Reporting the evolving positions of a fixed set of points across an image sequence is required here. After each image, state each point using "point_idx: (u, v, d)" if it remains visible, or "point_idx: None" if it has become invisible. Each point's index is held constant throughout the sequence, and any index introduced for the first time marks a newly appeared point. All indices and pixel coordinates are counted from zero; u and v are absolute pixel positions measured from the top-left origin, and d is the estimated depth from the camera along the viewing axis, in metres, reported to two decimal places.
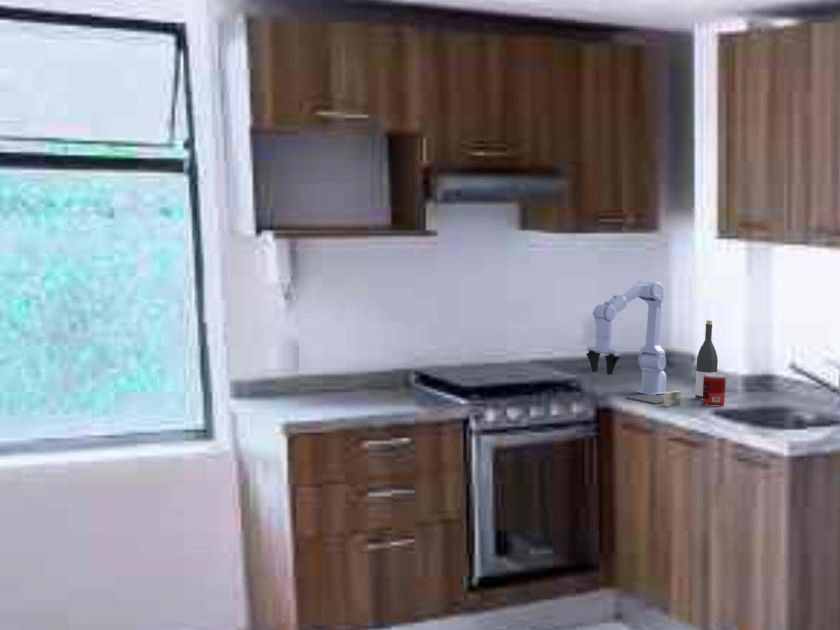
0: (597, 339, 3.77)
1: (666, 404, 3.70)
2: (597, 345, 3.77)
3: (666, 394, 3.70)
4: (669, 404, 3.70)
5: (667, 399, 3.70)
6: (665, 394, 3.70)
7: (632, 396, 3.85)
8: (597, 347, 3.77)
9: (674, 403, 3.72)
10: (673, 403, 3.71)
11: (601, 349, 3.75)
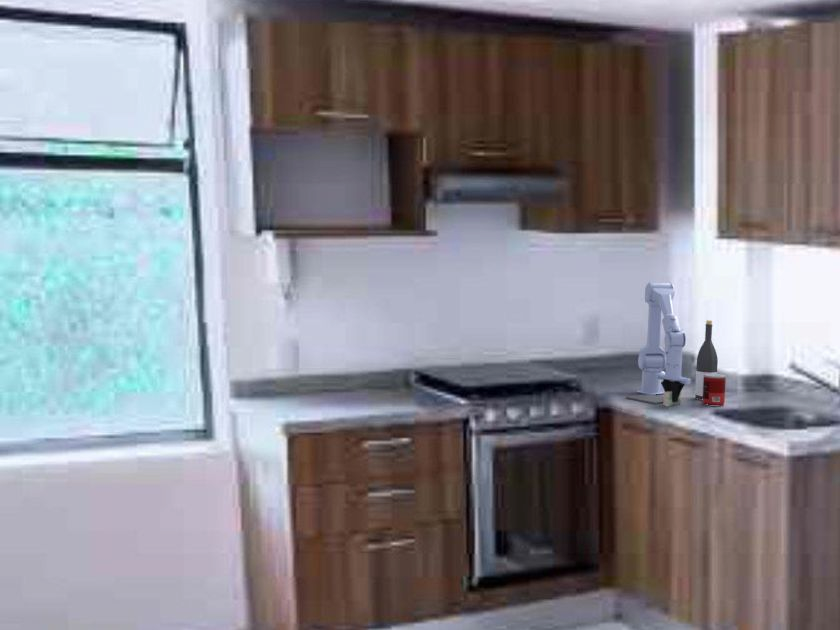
0: (667, 367, 3.70)
1: (666, 404, 3.70)
2: (667, 373, 3.70)
3: (666, 394, 3.70)
4: (669, 404, 3.70)
5: (667, 398, 3.70)
6: (665, 394, 3.70)
7: (632, 396, 3.85)
8: (667, 375, 3.70)
9: (674, 403, 3.72)
10: (673, 403, 3.71)
11: (672, 377, 3.69)
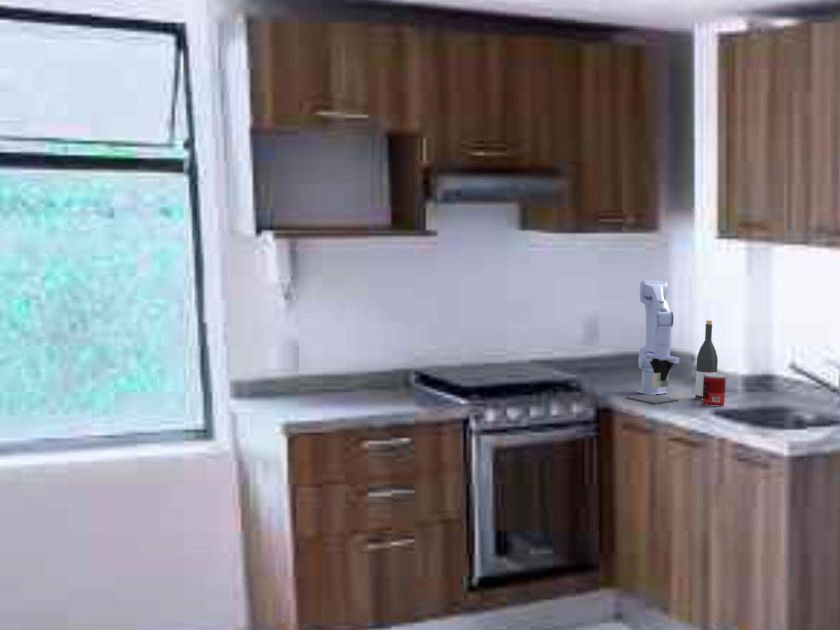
0: (656, 346, 3.74)
1: (654, 385, 3.75)
2: (656, 352, 3.74)
3: (654, 376, 3.74)
4: (657, 385, 3.75)
5: (655, 380, 3.74)
6: (653, 375, 3.75)
7: (632, 396, 3.85)
8: (656, 354, 3.74)
9: (662, 384, 3.76)
10: (661, 384, 3.76)
11: (660, 356, 3.73)
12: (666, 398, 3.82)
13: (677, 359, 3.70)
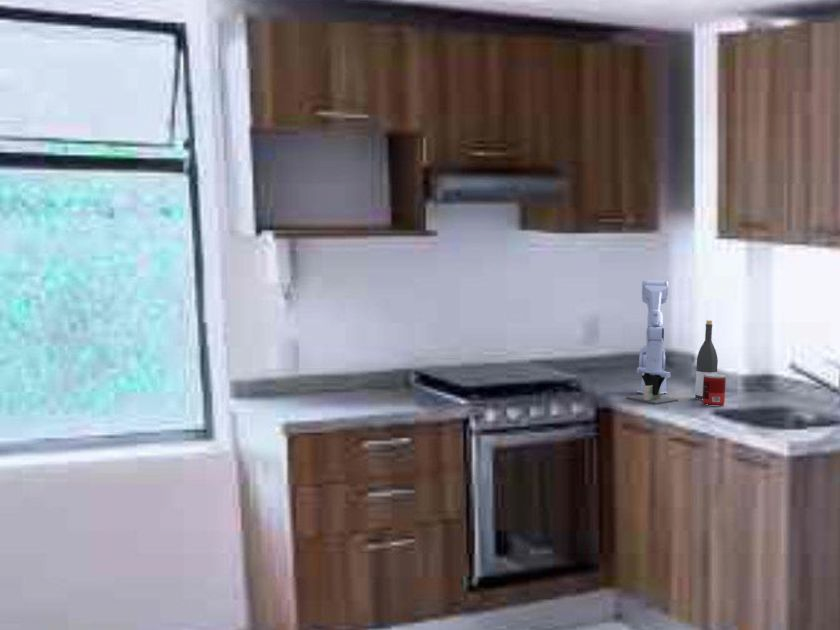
0: (648, 361, 3.78)
1: (646, 398, 3.78)
2: (648, 367, 3.78)
3: (646, 388, 3.78)
4: (649, 398, 3.78)
5: (647, 392, 3.78)
6: (645, 388, 3.78)
7: (632, 396, 3.85)
8: (648, 369, 3.78)
9: (654, 397, 3.80)
10: (653, 397, 3.80)
11: (652, 371, 3.77)
12: (666, 398, 3.82)
13: (668, 374, 3.74)
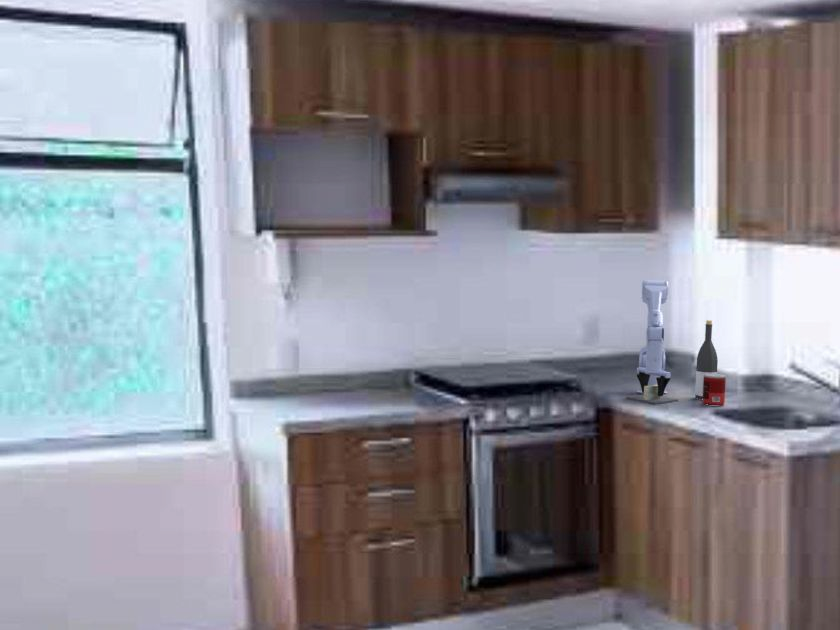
0: (648, 361, 3.78)
1: (646, 398, 3.78)
2: (648, 367, 3.78)
3: (646, 388, 3.78)
4: (649, 398, 3.78)
5: (647, 392, 3.78)
6: (645, 388, 3.78)
7: (632, 396, 3.85)
8: (648, 369, 3.78)
9: (654, 397, 3.80)
10: (653, 397, 3.80)
11: (652, 371, 3.77)
12: (666, 398, 3.82)
13: (668, 374, 3.74)
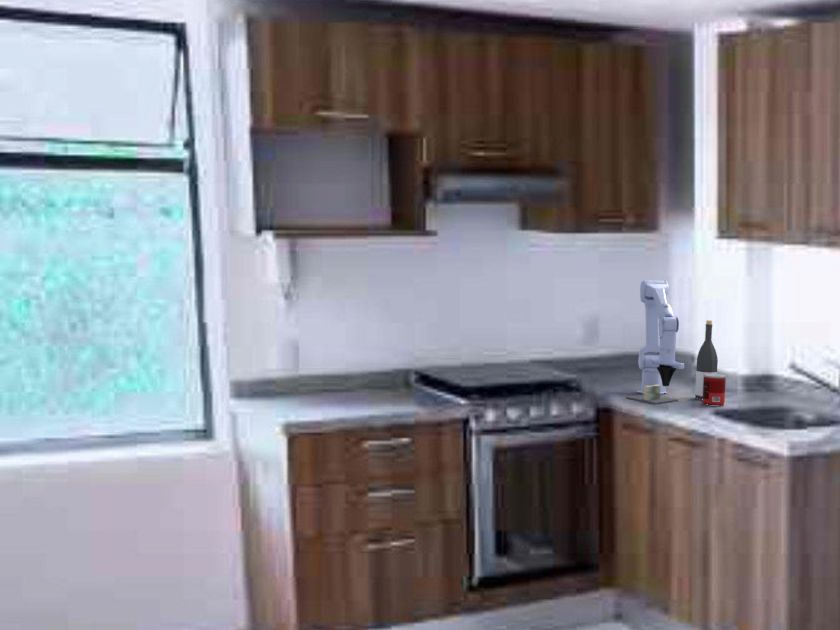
0: (661, 352, 3.73)
1: (646, 398, 3.78)
2: (661, 358, 3.73)
3: (646, 388, 3.78)
4: (649, 398, 3.78)
5: (647, 392, 3.78)
6: (645, 388, 3.78)
7: (632, 396, 3.85)
8: (661, 360, 3.73)
9: (654, 397, 3.80)
10: (653, 397, 3.80)
11: (665, 362, 3.72)
12: (666, 398, 3.82)
13: (682, 364, 3.69)
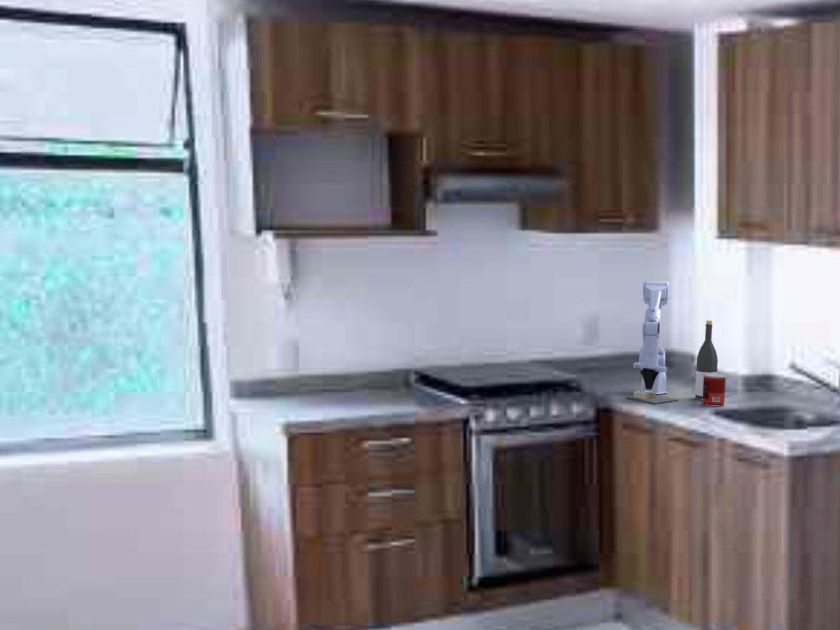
0: (644, 356, 3.79)
1: (642, 395, 3.80)
2: (644, 362, 3.80)
3: (634, 394, 3.83)
4: (643, 393, 3.80)
5: (638, 394, 3.81)
6: (634, 395, 3.83)
7: (632, 396, 3.85)
8: (644, 364, 3.80)
9: (648, 392, 3.82)
10: (647, 392, 3.82)
11: (648, 366, 3.78)
12: (666, 398, 3.82)
13: (665, 368, 3.75)
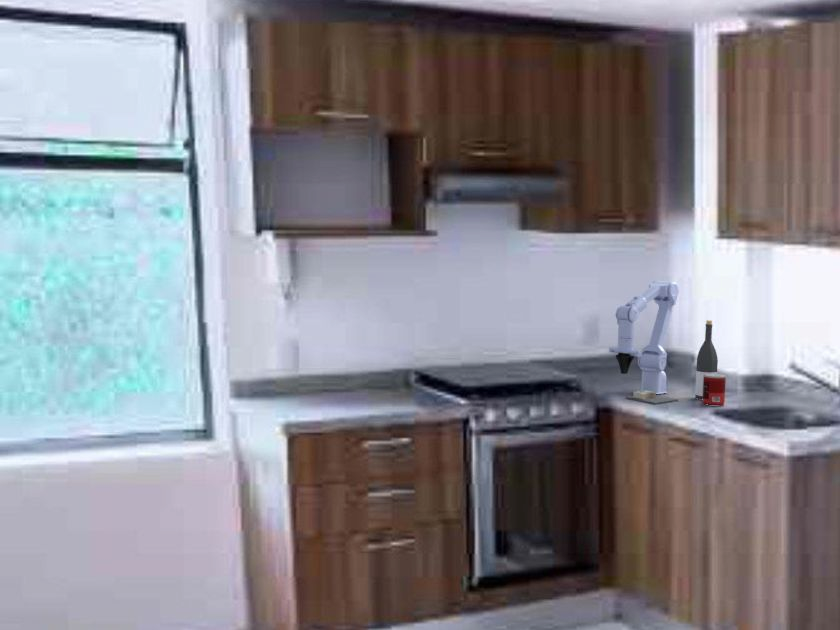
0: (619, 340, 3.81)
1: (642, 395, 3.80)
2: (619, 346, 3.81)
3: (634, 394, 3.83)
4: (643, 393, 3.80)
5: (638, 394, 3.81)
6: (634, 395, 3.83)
7: (632, 396, 3.85)
8: (619, 348, 3.81)
9: (648, 392, 3.82)
10: (647, 392, 3.82)
11: (623, 350, 3.80)
12: (666, 398, 3.82)
13: (639, 352, 3.77)
